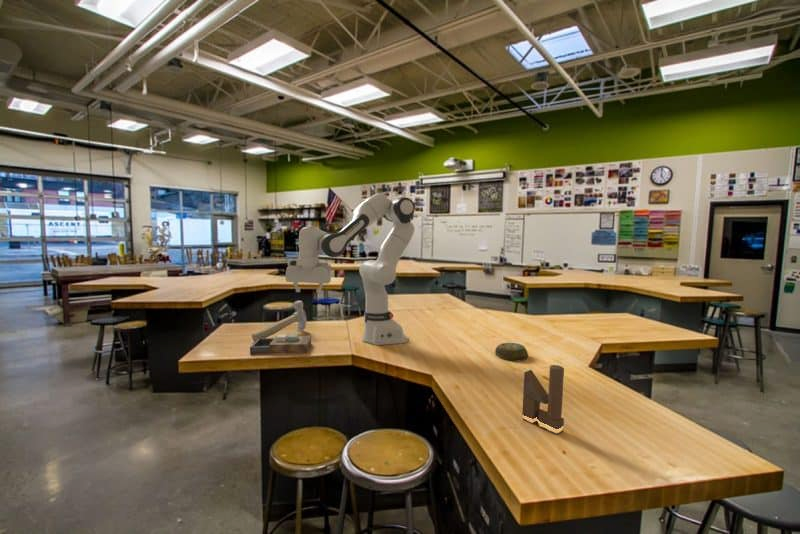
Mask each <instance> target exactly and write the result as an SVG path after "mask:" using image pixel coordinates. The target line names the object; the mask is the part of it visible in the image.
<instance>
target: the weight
mask: <svg viewBox="0 0 800 534" xmlns="http://www.w3.org/2000/svg"><path fill="white" fill-rule="evenodd" d="M494 352H495V354H496V356H497V357H499V358H500V359H503V360H508V361H509V360H510V361H513V360H521V361H524V360H526V359H528V356H529V354H528V351H527V349H526V347H525V346H524V345H523V344H520V343H517V342H502V343H500V344H497V346H496V347H495V351H494Z"/></svg>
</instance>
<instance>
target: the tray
mask: <svg viewBox="0 0 800 534" xmlns="http://www.w3.org/2000/svg"><path fill="white" fill-rule="evenodd" d="M274 338H275V337H270V338H269V337H267V338H259V339H258V340H257V341H256V342H253V344H251V345H250V347H249V353H250V355H256V354H257V355H261V354H262V355H265V354H267V355H269V344H270V343H271V342H272V341H273V339H274Z"/></svg>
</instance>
